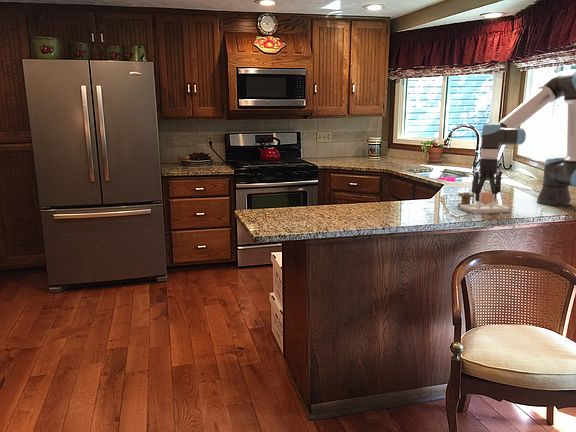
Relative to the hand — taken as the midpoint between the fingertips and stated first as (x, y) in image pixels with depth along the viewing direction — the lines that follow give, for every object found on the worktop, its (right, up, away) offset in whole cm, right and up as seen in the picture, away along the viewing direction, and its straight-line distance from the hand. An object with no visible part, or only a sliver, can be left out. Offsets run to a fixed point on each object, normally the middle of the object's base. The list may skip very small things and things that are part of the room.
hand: (484, 207), depth 229 cm
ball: (0, +2, 0) cm, 2 cm away
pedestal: (-5, +1, +11) cm, 12 cm away
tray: (0, -1, 0) cm, 1 cm away
